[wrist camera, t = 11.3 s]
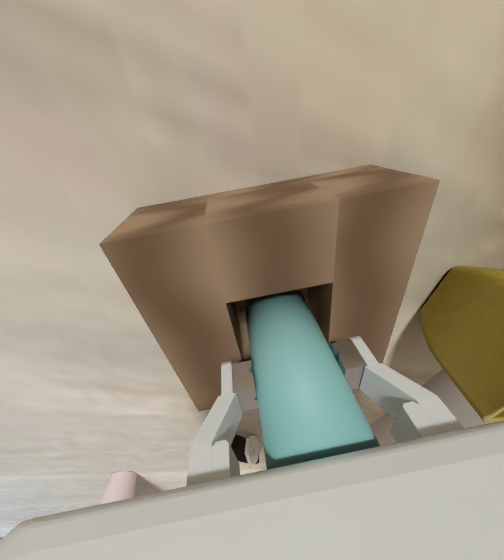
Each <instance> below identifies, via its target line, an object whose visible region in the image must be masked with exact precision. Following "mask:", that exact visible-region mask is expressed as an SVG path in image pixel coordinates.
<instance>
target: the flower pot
mask: <svg viewBox="0 0 504 560" xmlns="http://www.w3.org/2000/svg"><path fill="white" fill-rule="evenodd" d="M420 316H421V325H422V330H423V333H424V337H425V339H426V342H427V344H428V346H429V348H430V350H431V352H432V354H433V355H434V357H435V358H436V360H437V361H438V363H439V364H440V365H441V367H442V368H443V369H444V370H445V372H446V373H447V374H448V376H449V377H450V378H451V380H452V381H453V382H454V384H455V385H456V386H457V387H458V389H459V390H460V391H461V392H462V394H463V395H464V396H465V398H466V399H467V400H468V402H469V403H470V404H471V406H472V407H473V408H474V409H475V411H476V412H477V413H478V415H479V416H480V418H481V419H482V420H483V421H484V422H496V421H504V270H497V269H486V268H477V267H465V266H458V267H454V268H452V269H451V270H450V271H449V273H448V274H447V275H446V276H445V278H444V279H443V281H442V282H441V283H440V285H439V286H438V287H437V289H436V290H435V292H434V293H433V294H432V295H431V297H430V298H429V299H428V301H427V302H426V303H425V305H424V306H423V307H422V309H421V311H420Z"/></svg>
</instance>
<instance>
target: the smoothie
mask: <svg viewBox="0 0 504 560" xmlns="http://www.w3.org/2000/svg"><path fill="white" fill-rule="evenodd" d="M136 478H137V474H136V473H134V472H130V471H121V472H116V473H113V474H112V475H111V476H110V479H109V481H108V484H107V486H106V488H105V491H104V493H103V495H102V498H101V500H100V503H99V505H100V504H104V503H109V502H114V501H119V500H124V499H128V498H133V497H134V493H135V485H136Z"/></svg>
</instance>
